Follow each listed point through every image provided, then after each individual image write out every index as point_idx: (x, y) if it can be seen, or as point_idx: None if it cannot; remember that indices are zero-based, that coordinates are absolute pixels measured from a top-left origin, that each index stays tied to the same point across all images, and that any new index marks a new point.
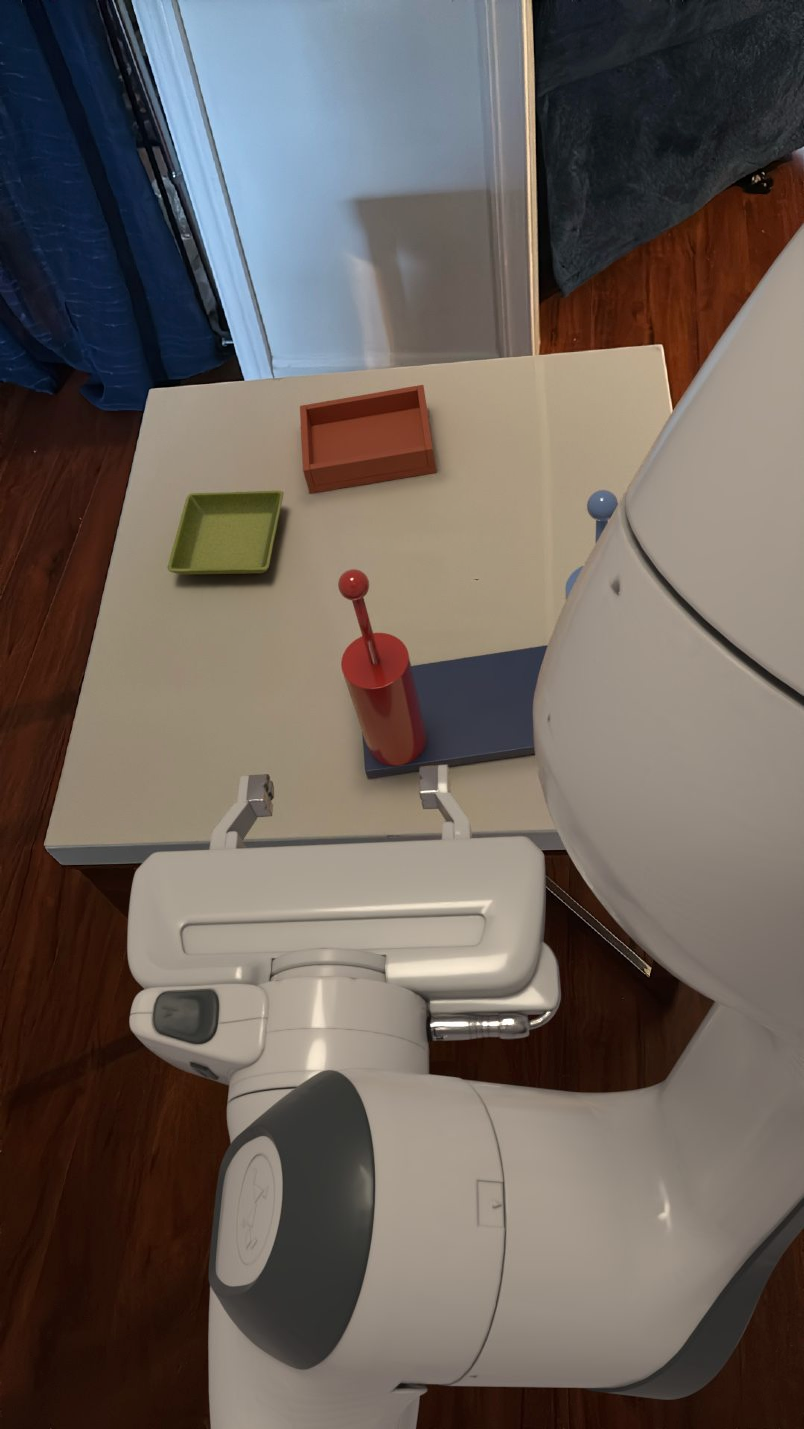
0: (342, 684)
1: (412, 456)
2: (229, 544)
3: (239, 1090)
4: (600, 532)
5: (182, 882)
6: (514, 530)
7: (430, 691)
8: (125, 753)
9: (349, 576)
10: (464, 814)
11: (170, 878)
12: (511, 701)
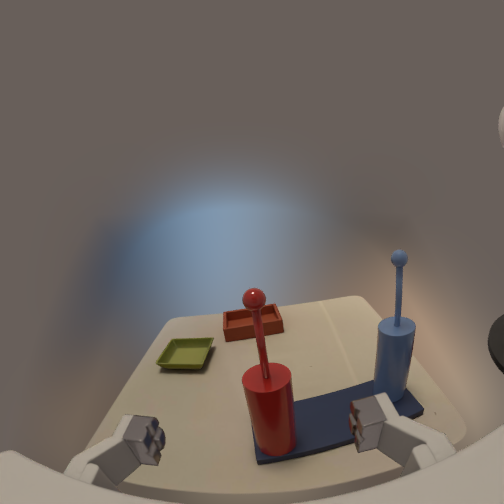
0: (240, 416)
1: (273, 323)
2: (186, 358)
3: None
4: (400, 277)
5: (14, 489)
6: (324, 346)
7: (295, 415)
8: None
9: (251, 289)
10: (434, 430)
11: (7, 478)
12: (346, 413)
